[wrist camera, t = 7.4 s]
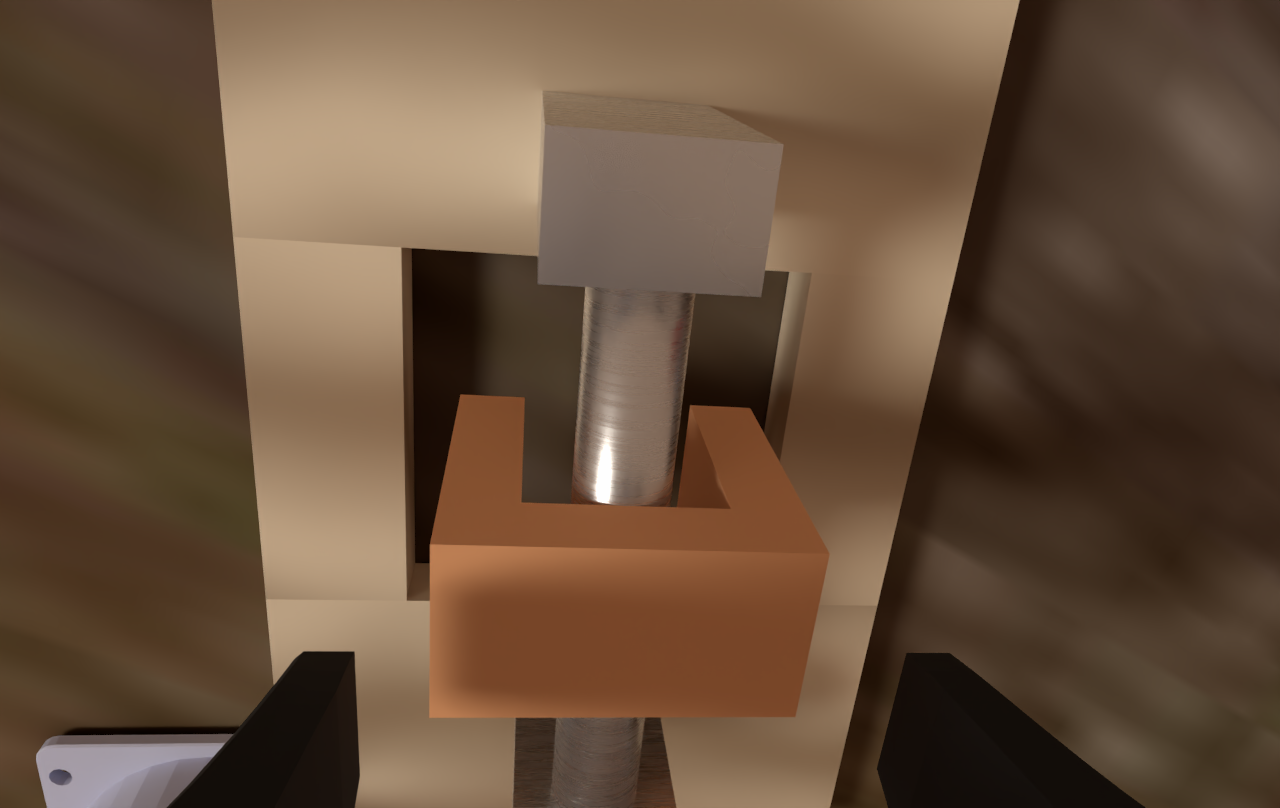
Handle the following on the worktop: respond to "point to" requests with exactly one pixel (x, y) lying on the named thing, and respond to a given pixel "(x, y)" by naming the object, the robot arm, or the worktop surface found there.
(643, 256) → the grey rod with blocks
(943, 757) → the robot arm
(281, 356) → the shelf board
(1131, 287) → the worktop surface
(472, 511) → the notched orange block
